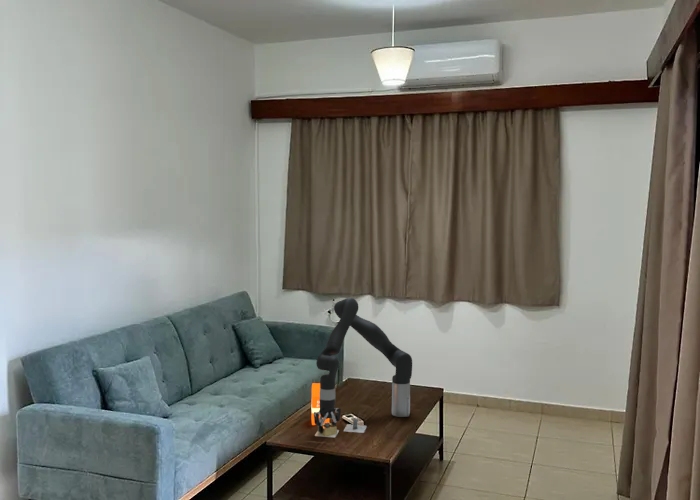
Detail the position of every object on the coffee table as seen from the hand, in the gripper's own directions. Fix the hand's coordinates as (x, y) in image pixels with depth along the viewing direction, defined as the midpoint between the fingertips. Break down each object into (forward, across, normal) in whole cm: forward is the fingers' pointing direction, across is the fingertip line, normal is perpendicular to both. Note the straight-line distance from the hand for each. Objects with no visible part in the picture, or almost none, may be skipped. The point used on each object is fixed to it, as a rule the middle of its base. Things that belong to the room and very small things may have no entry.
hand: (327, 431), depth 315 cm
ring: (+1, 0, 0) cm, 1 cm away
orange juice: (+2, -6, -16) cm, 18 cm away
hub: (+2, 0, 0) cm, 2 cm away
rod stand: (+2, -15, +2) cm, 15 cm away
